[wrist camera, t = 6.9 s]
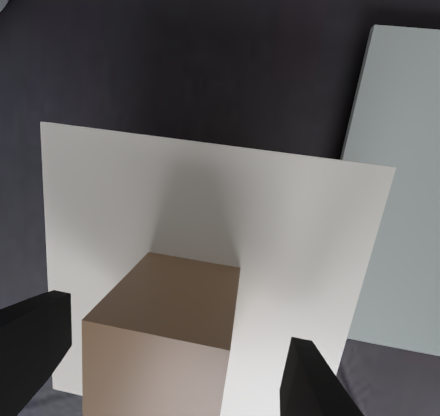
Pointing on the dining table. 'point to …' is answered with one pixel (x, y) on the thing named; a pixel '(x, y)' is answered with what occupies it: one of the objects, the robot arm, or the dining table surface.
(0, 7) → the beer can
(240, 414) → the cover sheet
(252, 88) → the dining table surface
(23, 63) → the dining table surface
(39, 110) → the dining table surface
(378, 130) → the mat
